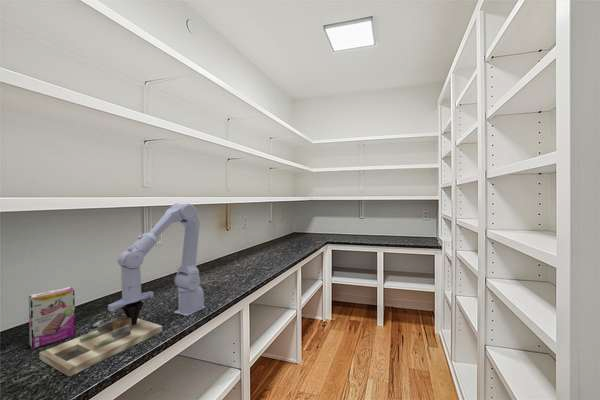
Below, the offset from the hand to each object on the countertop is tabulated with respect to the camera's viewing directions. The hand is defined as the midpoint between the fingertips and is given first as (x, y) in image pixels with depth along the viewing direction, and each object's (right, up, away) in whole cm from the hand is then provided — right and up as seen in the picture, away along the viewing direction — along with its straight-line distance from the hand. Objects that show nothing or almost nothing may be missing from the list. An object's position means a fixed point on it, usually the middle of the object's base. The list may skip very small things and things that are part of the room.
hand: (132, 324), depth 98 cm
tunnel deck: (-4, -3, -8) cm, 9 cm away
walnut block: (-2, -1, -3) cm, 4 cm away
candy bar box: (-24, -4, -4) cm, 25 cm away
